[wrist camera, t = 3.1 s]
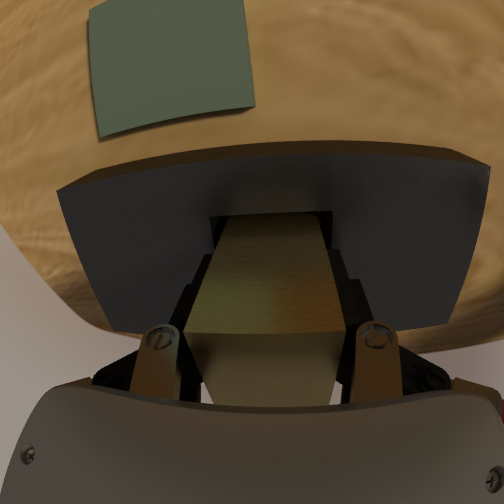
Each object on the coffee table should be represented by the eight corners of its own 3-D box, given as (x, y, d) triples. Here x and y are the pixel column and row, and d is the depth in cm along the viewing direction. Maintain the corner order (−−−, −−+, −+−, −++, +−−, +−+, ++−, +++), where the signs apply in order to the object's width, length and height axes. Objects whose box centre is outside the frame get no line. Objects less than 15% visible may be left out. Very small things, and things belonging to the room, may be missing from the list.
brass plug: (309, 193, 15) (345, 330, 6) (310, 255, 17) (328, 406, 8) (237, 196, 15) (182, 332, 7) (245, 257, 17) (214, 405, 9)
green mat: (238, -33, 8) (236, -39, 7) (255, 106, 12) (254, 106, 12) (96, 12, 9) (88, 10, 8) (107, 135, 14) (100, 137, 13)
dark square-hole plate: (450, 148, 12) (490, 166, 9) (425, 286, 17) (447, 323, 14) (95, 169, 15) (56, 191, 11) (136, 295, 20) (114, 330, 16)
